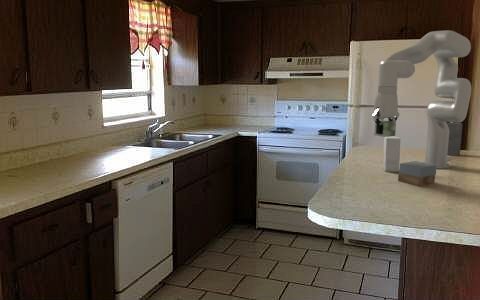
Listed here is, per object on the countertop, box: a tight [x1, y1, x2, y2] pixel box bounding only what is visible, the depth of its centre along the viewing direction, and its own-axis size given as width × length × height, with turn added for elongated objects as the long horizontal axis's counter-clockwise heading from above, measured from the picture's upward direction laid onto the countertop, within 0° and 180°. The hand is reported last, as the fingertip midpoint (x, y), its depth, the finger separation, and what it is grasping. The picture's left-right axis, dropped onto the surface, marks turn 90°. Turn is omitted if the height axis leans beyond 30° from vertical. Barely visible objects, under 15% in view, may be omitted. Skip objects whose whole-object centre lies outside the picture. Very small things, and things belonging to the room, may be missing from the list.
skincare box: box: [382, 135, 401, 173], centre depth 208 cm, size 8×7×16 cm
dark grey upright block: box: [446, 122, 463, 157], centre depth 248 cm, size 15×6×20 cm, turn 64°
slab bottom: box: [397, 172, 436, 187], centre depth 186 cm, size 10×10×4 cm
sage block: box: [373, 119, 397, 138], centre depth 191 cm, size 6×6×6 cm
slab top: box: [398, 160, 437, 178], centre depth 186 cm, size 10×10×4 cm
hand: (384, 132), depth 192 cm, fingers closed on sage block, 6 cm apart
